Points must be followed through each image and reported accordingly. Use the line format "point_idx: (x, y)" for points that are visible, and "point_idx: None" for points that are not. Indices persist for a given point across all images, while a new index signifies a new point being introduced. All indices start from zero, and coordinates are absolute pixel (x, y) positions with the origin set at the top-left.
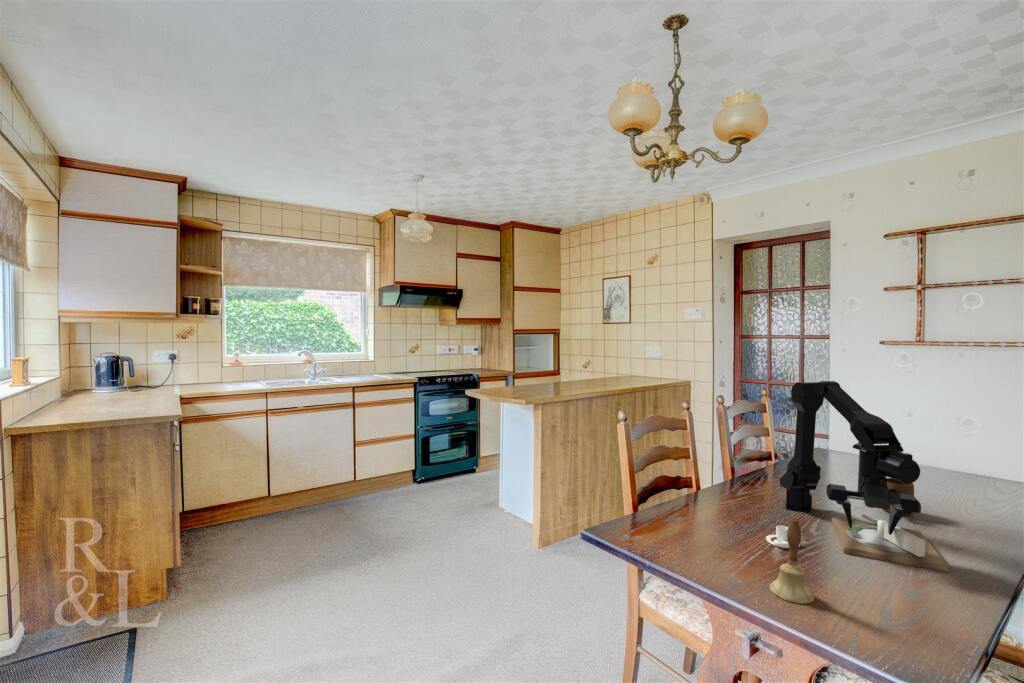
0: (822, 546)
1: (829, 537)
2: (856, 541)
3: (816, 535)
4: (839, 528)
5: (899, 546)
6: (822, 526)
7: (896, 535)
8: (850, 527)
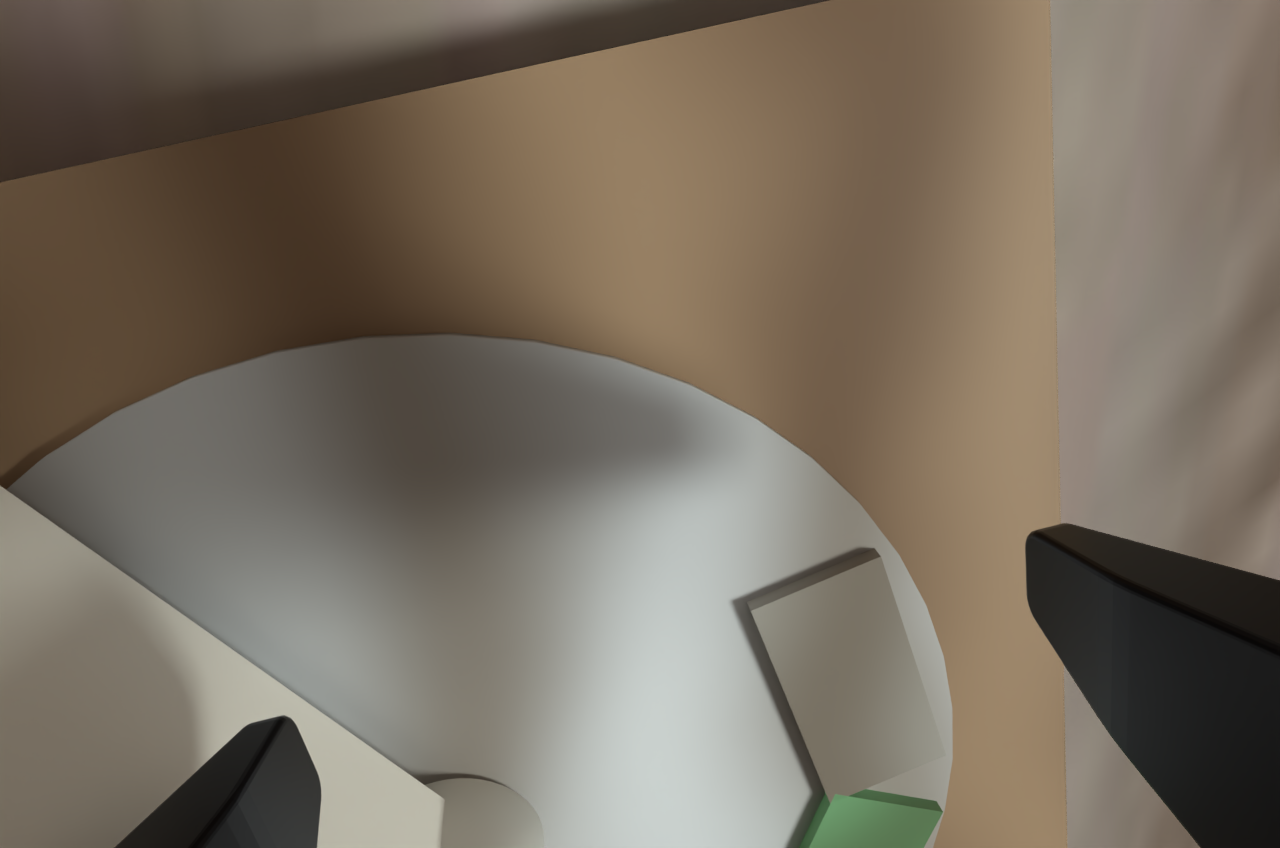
0: (1271, 58)
1: (1115, 519)
2: (824, 434)
3: (1275, 470)
4: (1024, 786)
5: None
6: (1148, 822)
7: (161, 782)
8: (1060, 525)
